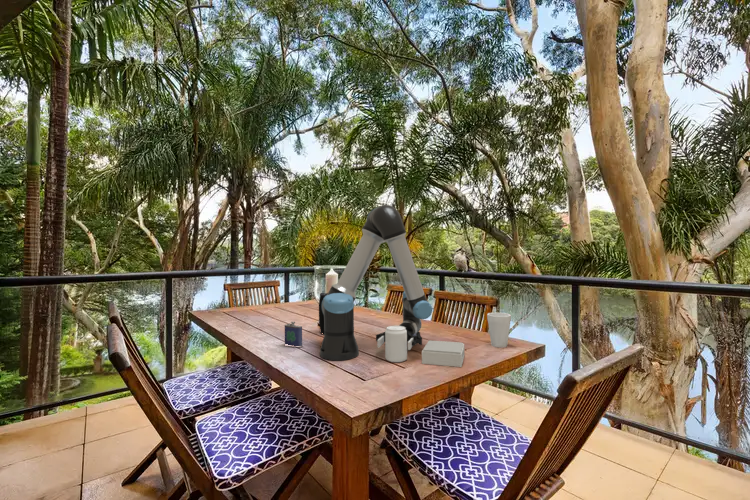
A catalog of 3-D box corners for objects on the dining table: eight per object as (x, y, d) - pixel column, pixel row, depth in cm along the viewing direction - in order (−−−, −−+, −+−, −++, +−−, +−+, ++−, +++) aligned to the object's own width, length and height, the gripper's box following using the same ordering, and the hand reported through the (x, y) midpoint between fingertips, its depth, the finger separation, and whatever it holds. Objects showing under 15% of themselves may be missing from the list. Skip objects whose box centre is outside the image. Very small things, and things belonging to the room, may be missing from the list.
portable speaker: (334, 335, 175) (333, 294, 175) (316, 334, 178) (315, 294, 177) (340, 331, 184) (339, 292, 183) (322, 330, 186) (322, 291, 186)
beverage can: (405, 363, 134) (405, 330, 133) (383, 362, 135) (383, 329, 135) (408, 356, 141) (408, 325, 141) (387, 355, 143) (387, 325, 143)
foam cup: (486, 347, 153) (486, 315, 153) (488, 341, 162) (488, 312, 162) (510, 349, 150) (510, 317, 149) (511, 343, 158) (511, 313, 158)
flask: (303, 346, 157) (303, 321, 157) (299, 348, 155) (298, 323, 154) (287, 344, 162) (286, 319, 162) (282, 346, 159) (282, 321, 159)
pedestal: (421, 363, 133) (421, 349, 133) (428, 352, 147) (428, 340, 147) (461, 367, 129) (461, 352, 129) (464, 355, 143) (464, 342, 142)
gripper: (434, 341, 152) (425, 357, 131) (380, 338, 159) (363, 352, 138) (434, 323, 152) (425, 336, 131) (380, 320, 159) (363, 332, 138)
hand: (393, 344), depth 134 cm, fingers open, 11 cm apart
